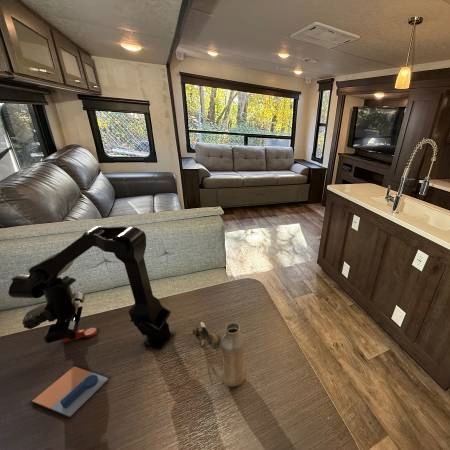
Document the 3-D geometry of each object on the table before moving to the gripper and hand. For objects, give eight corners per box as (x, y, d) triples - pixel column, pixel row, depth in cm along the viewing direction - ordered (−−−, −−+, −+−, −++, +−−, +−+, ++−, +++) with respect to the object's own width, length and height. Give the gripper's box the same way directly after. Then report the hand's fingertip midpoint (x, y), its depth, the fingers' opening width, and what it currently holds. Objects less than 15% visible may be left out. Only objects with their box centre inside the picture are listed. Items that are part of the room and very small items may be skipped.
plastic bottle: (240, 392, 69) (239, 340, 61) (217, 386, 70) (214, 334, 62) (249, 371, 75) (249, 321, 67) (228, 366, 76) (226, 316, 68)
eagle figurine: (185, 347, 79) (209, 351, 77) (188, 323, 81) (212, 327, 78) (200, 341, 86) (222, 345, 84) (203, 320, 88) (225, 323, 85)
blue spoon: (69, 409, 61) (66, 404, 60) (59, 405, 62) (56, 400, 61) (101, 379, 68) (99, 373, 67) (92, 376, 69) (90, 370, 68)
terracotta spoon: (63, 344, 77) (61, 339, 76) (65, 337, 80) (63, 332, 79) (96, 335, 81) (94, 330, 81) (97, 328, 84) (95, 323, 83)
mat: (108, 379, 69) (108, 378, 69) (69, 417, 60) (69, 416, 60) (74, 367, 71) (74, 366, 71) (32, 402, 62) (31, 400, 62)
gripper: (32, 285, 76) (47, 323, 83) (7, 327, 62) (28, 370, 68) (78, 277, 82) (90, 313, 88) (66, 313, 68) (81, 354, 74)
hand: (73, 335), depth 79 cm, fingers open, 3 cm apart
